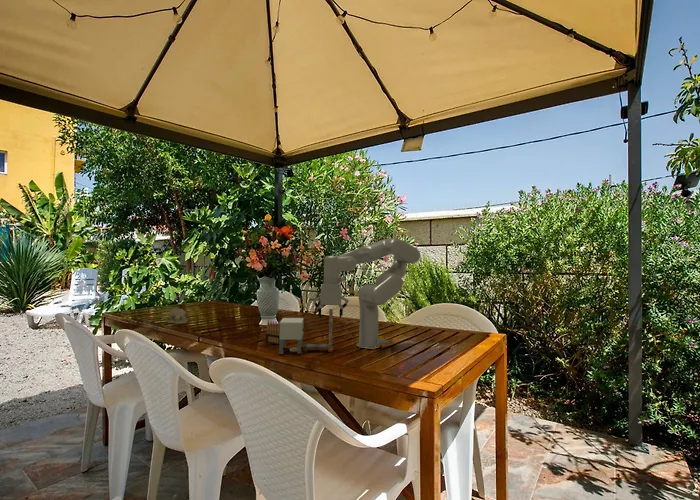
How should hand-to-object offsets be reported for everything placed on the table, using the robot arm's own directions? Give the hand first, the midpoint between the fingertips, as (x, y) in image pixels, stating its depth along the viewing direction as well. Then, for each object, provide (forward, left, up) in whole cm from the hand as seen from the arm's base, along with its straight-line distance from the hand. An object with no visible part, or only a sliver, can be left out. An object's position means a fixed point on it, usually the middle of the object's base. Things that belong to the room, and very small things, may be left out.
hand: (330, 317), depth 182 cm
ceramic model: (+101, -77, -17) cm, 128 cm away
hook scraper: (+5, 0, -16) cm, 17 cm away
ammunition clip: (+28, -14, -17) cm, 36 cm away
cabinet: (+18, 0, -16) cm, 25 cm away
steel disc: (+17, 0, -17) cm, 24 cm away
